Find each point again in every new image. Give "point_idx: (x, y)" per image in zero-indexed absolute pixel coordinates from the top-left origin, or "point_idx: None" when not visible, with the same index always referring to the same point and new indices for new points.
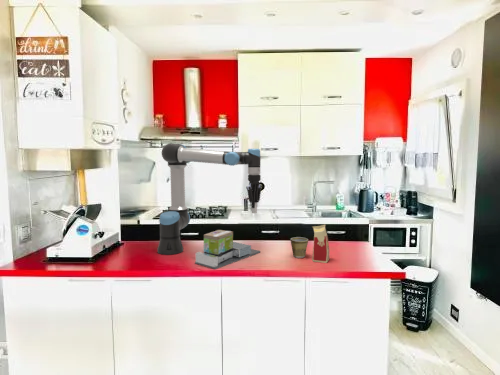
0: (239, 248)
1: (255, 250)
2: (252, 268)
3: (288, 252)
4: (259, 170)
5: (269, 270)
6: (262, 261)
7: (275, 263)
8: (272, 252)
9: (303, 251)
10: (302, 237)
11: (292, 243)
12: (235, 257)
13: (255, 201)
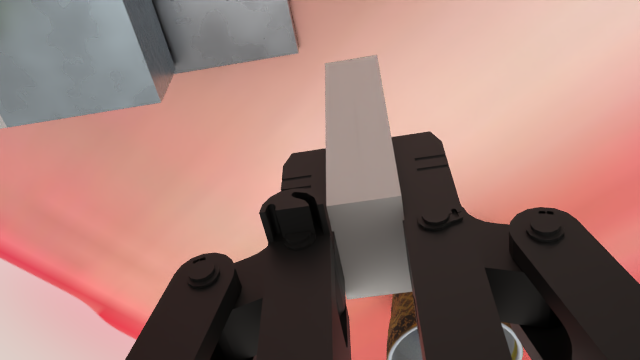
0: (14, 111)
1: (274, 13)
2: (41, 247)
3: (464, 176)
4: None
5: (111, 311)
6: (170, 200)
7: None
8: None
9: None
10: (518, 347)
11: (390, 331)
12: None
13: (411, 276)
